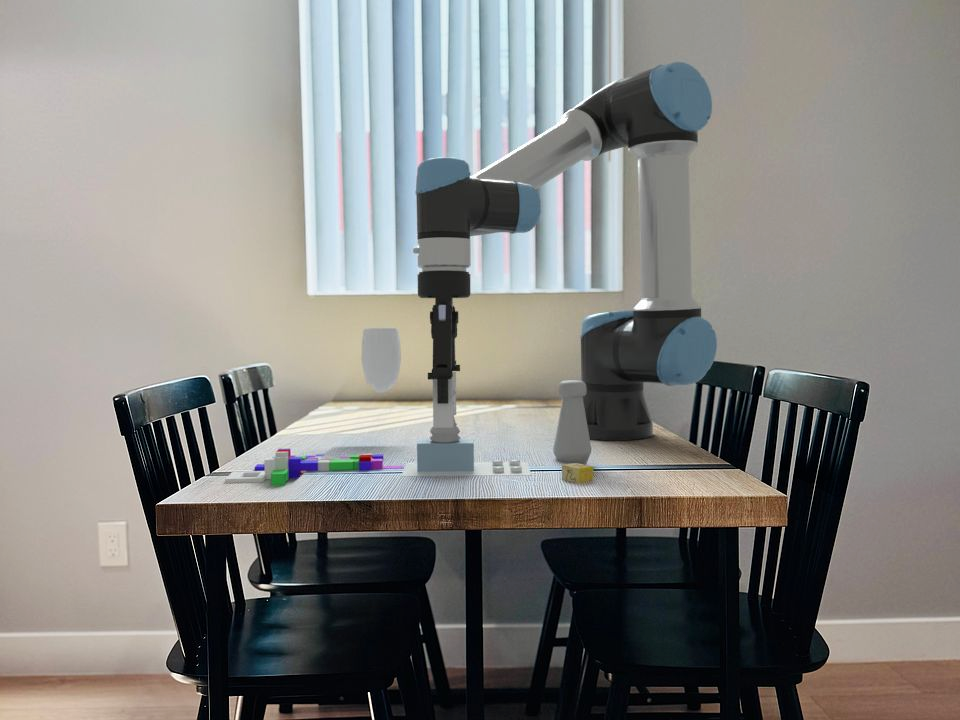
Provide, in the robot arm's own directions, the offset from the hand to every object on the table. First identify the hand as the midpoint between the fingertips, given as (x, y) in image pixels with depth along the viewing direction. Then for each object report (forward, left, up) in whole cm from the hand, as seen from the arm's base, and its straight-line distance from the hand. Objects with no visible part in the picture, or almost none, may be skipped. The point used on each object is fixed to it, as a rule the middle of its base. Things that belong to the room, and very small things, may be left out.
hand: (445, 421), depth 115 cm
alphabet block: (-18, +8, -8) cm, 21 cm away
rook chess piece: (0, 0, -3) cm, 3 cm away
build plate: (-3, 0, -8) cm, 8 cm away
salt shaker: (-19, -7, -8) cm, 22 cm away
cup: (+13, -31, -8) cm, 35 cm away
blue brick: (0, 0, -7) cm, 7 cm away
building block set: (+19, -5, -9) cm, 22 cm away
